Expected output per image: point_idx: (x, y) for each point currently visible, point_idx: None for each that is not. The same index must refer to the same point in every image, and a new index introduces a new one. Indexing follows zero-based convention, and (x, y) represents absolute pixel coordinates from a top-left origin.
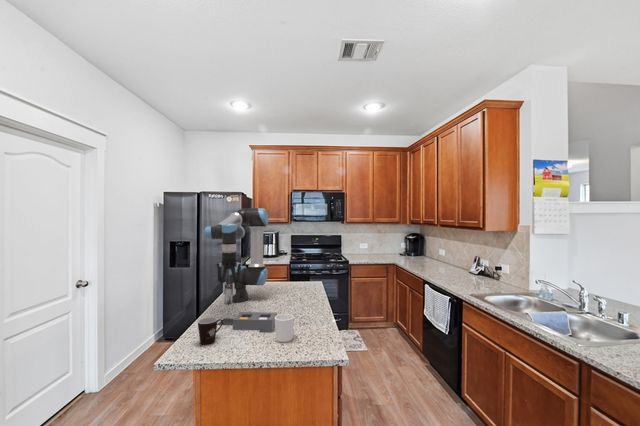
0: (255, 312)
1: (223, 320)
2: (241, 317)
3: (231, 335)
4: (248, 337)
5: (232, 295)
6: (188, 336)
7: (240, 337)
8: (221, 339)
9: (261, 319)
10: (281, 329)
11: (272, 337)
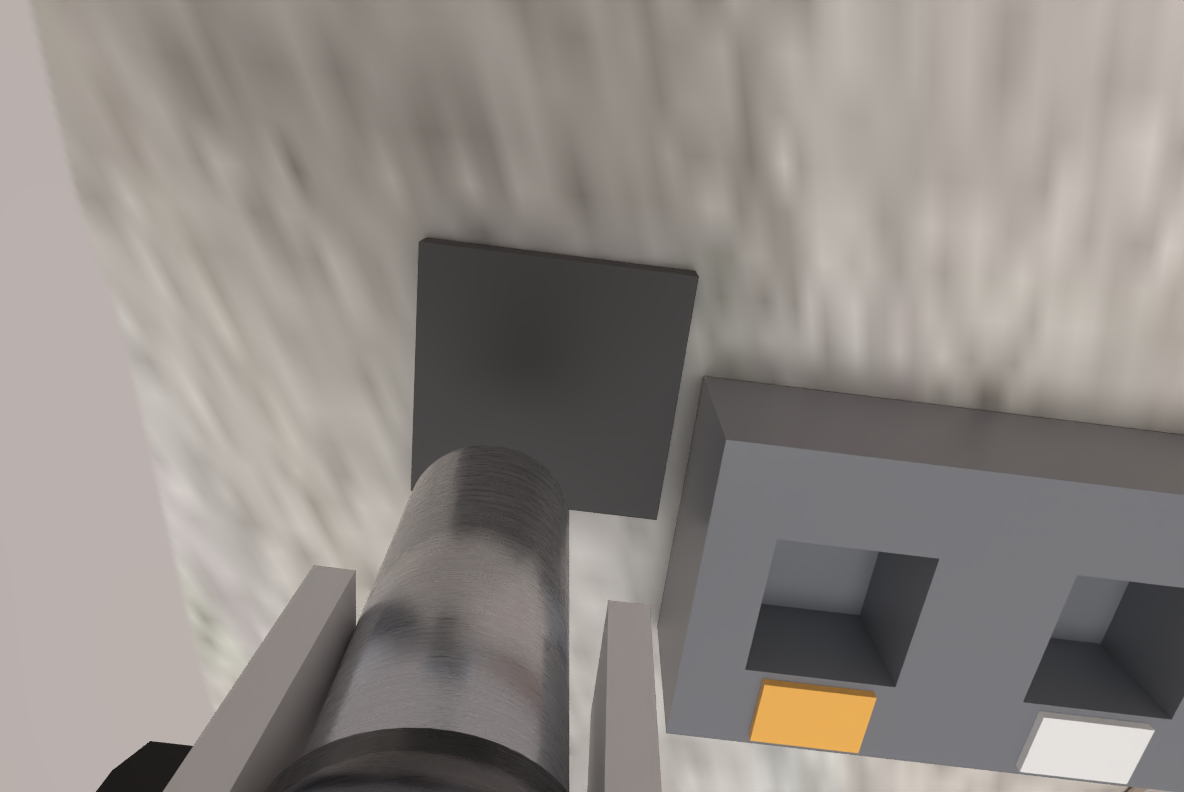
0: (986, 482)
1: (446, 328)
2: (777, 696)
3: (662, 707)
4: (840, 761)
5: (568, 640)
6: (230, 689)
7: (761, 754)
8: (585, 775)
9: (1057, 773)
10: None
11: (1078, 782)
